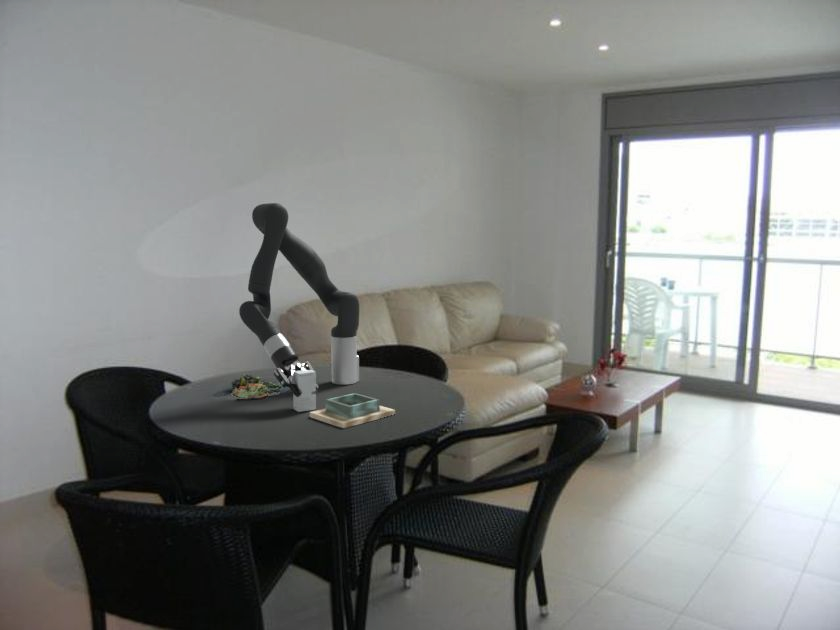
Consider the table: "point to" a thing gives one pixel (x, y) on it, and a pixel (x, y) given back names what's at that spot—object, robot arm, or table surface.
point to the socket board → (351, 410)
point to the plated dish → (251, 388)
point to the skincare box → (305, 390)
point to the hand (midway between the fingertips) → (308, 392)
